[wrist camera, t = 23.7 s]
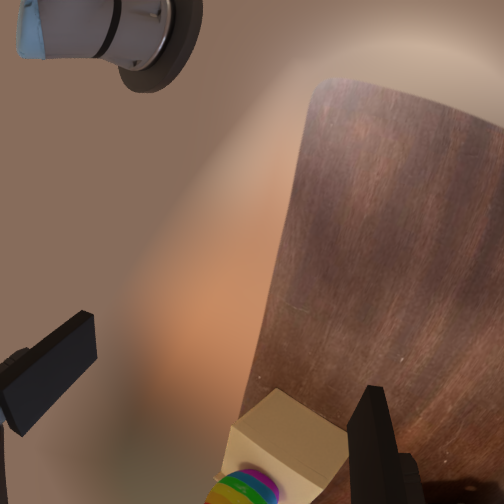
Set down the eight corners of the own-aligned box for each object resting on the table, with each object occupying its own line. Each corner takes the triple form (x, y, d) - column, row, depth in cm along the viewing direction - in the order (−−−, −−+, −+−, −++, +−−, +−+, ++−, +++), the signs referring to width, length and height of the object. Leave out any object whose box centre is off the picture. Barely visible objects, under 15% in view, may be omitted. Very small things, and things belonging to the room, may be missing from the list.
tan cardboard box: (256, 442, 47) (213, 478, 40) (276, 387, 40) (222, 431, 33) (319, 485, 40) (281, 529, 33) (359, 439, 33) (316, 499, 26)
